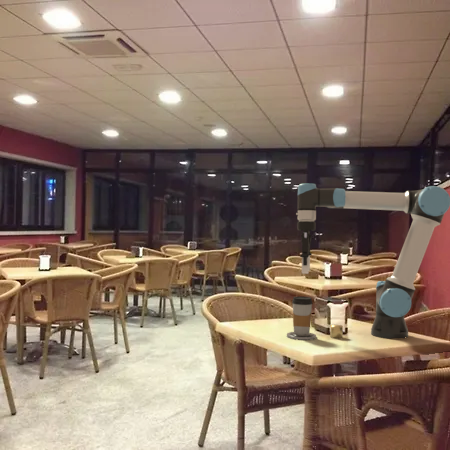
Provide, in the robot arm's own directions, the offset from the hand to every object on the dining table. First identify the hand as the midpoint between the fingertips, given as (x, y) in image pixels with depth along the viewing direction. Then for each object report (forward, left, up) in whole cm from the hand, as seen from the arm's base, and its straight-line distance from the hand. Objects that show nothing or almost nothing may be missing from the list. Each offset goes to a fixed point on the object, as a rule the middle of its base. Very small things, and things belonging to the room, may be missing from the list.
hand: (305, 272), depth 219 cm
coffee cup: (+1, +2, -26) cm, 26 cm away
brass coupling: (-13, -2, -27) cm, 30 cm away
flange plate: (+1, +2, -27) cm, 27 cm away
